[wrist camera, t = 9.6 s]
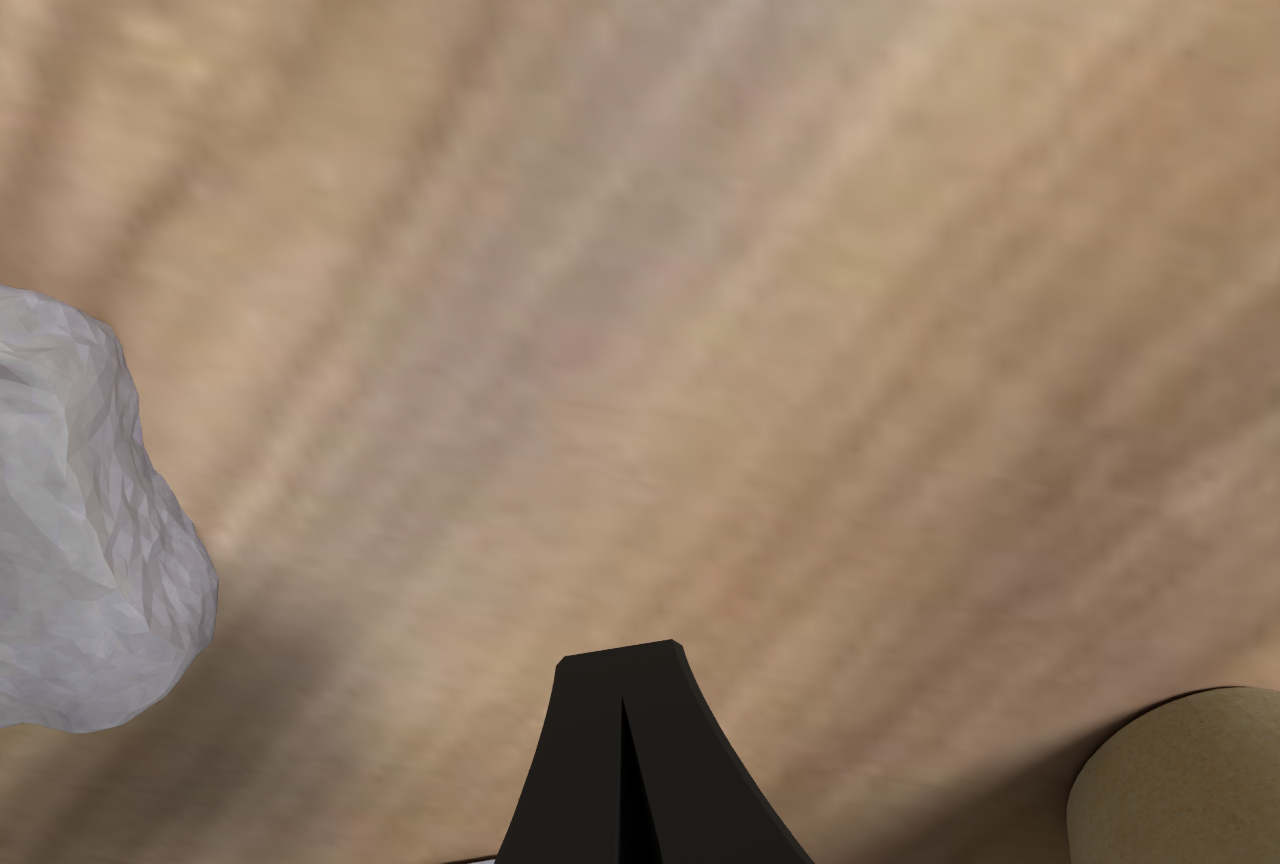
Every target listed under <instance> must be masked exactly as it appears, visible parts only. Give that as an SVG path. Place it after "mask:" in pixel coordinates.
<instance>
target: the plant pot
mask: <svg viewBox="0 0 1280 864" xmlns="http://www.w3.org/2000/svg"><path fill="white" fill-rule="evenodd" d="M1066 819H1067V829H1068V839H1069V848H1070V856H1071V864H1280V692H1277V691H1273V690H1269V689H1261V688H1253V687H1235V688H1223V689H1215V690H1210V691H1206V692H1201V693H1197V694H1193V695H1190V696H1187V697H1184V698H1181V699H1178V700H1175V701H1172V702H1170V703H1167V704H1165V705H1162V706H1160V707H1158V708H1156V709H1154V710H1152V711H1150V712H1148V713H1146V714H1144V715H1143V716H1141V717H1139V718H1137V719H1135V720H1134V721H1132V722H1131V723H1129V724H1128V725H1126V726H1125V727H1123V728H1122V729H1120V730H1119V731H1118V732H1117V733H1115V734H1114V735H1113V736H1112V737H1111V738H1110V739H1108V740H1107V741H1106V742H1105V743H1104V744H1103V745H1102V746H1101V747H1100V748H1099V749H1098V750H1097V751H1096V752H1095V753H1094V754H1093V755H1092V757H1091V758H1090V759H1089V760H1088V761H1087V763H1086V764H1085V766H1084V767H1083V769H1082V770H1081V772H1080V773H1079V775H1078V776H1077V779H1076V781H1075V783H1074V785H1073V787H1072V789H1071V792H1070V795H1069V799H1068V803H1067V815H1066Z"/></svg>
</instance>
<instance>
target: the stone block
mask: <svg viewBox="0 0 1280 864" xmlns="http://www.w3.org/2000/svg"><path fill="white" fill-rule="evenodd" d="M218 585H219V578H218V576H217V573H216V571H215V569H214V566H213V564H212V562H211V559H210V557H209V555H208V553H207V550H206V548H205V546H204V545H203V543H202V542H201V541H200V539H199V538H198V537H197V535H196V531H195V527H194V524H193V522H192V521H191V520H190V518H189V517H188V516H187V515H186V514H185V512H184V511H183V510H182V509H181V507H180V505H179V503H178V501H177V499H176V496H175V495H174V493H173V492H172V490H171V488H170V487H169V485H168V484H167V482H166V481H165V479H164V478H163V477H162V475H160V474H159V473H158V472H157V471H155V470H154V468H153V466H152V463H151V461H150V459H149V456H148V454H147V452H146V450H145V448H144V444H143V437H142V428H141V422H140V417H139V396H138V393H137V390H136V387H135V385H134V382H133V379H132V376H131V374H130V371H129V369H128V367H127V364H126V360H125V357H124V354H123V348H122V346H121V344H120V342H119V340H118V339H117V337H116V335H115V333H114V331H113V330H112V328H111V326H110V325H108V324H106V323H104V322H102V321H100V320H98V319H96V318H94V317H90V316H89V315H87V314H86V313H84V312H83V311H81V310H79V309H77V308H75V307H73V306H71V305H68V304H66V303H64V302H62V301H60V300H57V299H55V298H52V297H50V296H47V295H45V294H42V293H39V292H35V291H30V290H26V289H19V288H12V287H9V286H5V285H2V284H0V728H4V727H8V726H12V725H16V724H21V723H31V724H37V725H41V726H45V727H48V728H52V729H56V730H60V731H65V732H69V733H91V732H96V731H100V730H104V729H108V728H112V727H116V726H120V725H124V724H125V723H127V722H128V721H130V720H131V719H133V718H134V717H136V716H137V715H139V714H140V713H142V712H143V711H145V710H146V709H148V708H149V707H151V706H152V705H154V704H155V703H157V702H158V701H160V700H161V699H163V698H164V697H166V696H167V694H168V693H169V692H170V691H171V690H172V688H173V687H174V686H175V685H176V684H177V682H178V681H179V680H180V678H181V677H182V675H183V674H184V673H185V671H186V670H187V668H188V667H189V666H190V665H191V663H192V662H193V660H194V659H195V658H196V656H197V655H198V654H199V653H200V652H202V651H203V650H204V649H205V648H206V647H207V646H208V645H209V644H210V642H211V641H212V639H213V633H214V627H215V620H216V612H217V599H218Z"/></svg>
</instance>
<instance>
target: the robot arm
mask: <svg viewBox="0 0 1280 864" xmlns="http://www.w3.org/2000/svg"><path fill="white" fill-rule="evenodd" d="M469 864H815V863H814V862H813V861H812V860H811V858H810V857H809V856H808V855H807V853H806V852H805V851H804V849H803V848H802V847H801V846H800V844H799V843H798V842H797V840H796V839H795V838H794V836H793V835H792V833H791V832H790V831H789V829H788V828H787V827H786V825H785V824H784V823H783V821H782V820H781V819H780V817H779V816H778V815H777V813H776V812H775V811H774V809H773V808H772V806H771V805H770V803H769V802H768V801H767V799H766V798H765V796H764V795H763V793H762V792H761V791H760V789H759V788H758V786H757V785H756V783H755V782H754V780H753V778H752V777H751V775H750V774H749V772H748V771H747V769H746V768H745V766H744V765H743V763H742V761H741V760H740V758H739V757H738V755H737V754H736V752H735V751H734V749H733V748H732V746H731V744H730V743H729V741H728V739H727V738H726V736H725V734H724V733H723V731H722V729H721V728H720V726H719V724H718V722H717V721H716V719H715V717H714V715H713V713H712V711H711V710H710V708H709V706H708V704H707V702H706V701H705V699H704V697H703V695H702V693H701V691H700V689H699V686H698V684H697V682H696V680H695V678H694V676H693V673H692V671H691V668H690V666H689V664H688V661H687V658H686V655H685V652H684V649H683V646H682V645H680V644H679V643H677V642H676V641H674V640H673V639H670V640H663V641H657V642H651V643H645V644H639V645H632V646H626V647H620V648H614V649H608V650H601V651H595V652H589V653H583V654H577V655H570V656H564V658H563V659H562V660H561V661H560V662H559V663H558V664H557V665H556V670H555V677H554V683H553V688H552V693H551V697H550V702H549V706H548V710H547V714H546V718H545V721H544V725H543V728H542V732H541V735H540V739H539V742H538V745H537V749H536V752H535V755H534V758H533V761H532V764H531V767H530V770H529V773H528V776H527V778H526V781H525V784H524V787H523V790H522V793H521V796H520V798H519V801H518V804H517V807H516V810H515V813H514V815H513V818H512V821H511V823H510V826H509V828H508V831H507V833H506V835H505V838H504V840H503V843H502V845H501V847H500V850H499V852H498V854H497V857H496V859H493V860H487V861H481V862H475V863H469Z"/></svg>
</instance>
